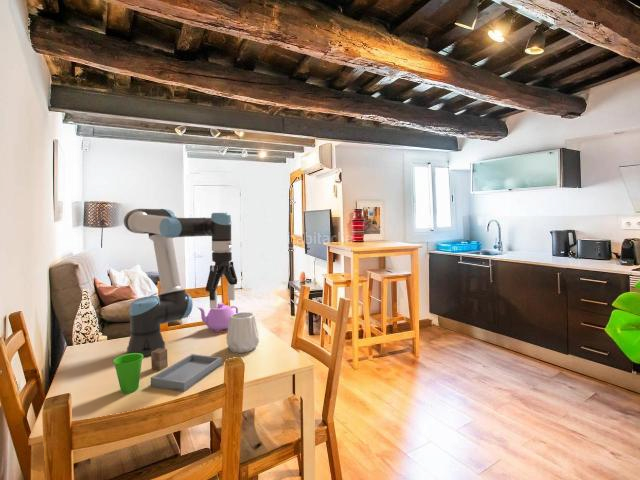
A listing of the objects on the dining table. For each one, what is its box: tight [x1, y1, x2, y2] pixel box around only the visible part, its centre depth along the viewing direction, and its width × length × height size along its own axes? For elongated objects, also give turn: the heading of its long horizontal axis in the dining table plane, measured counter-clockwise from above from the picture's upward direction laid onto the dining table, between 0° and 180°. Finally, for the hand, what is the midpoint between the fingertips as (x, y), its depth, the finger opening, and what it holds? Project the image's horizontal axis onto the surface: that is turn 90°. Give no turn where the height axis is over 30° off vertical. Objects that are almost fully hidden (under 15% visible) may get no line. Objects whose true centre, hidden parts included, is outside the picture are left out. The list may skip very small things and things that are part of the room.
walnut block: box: [150, 348, 169, 372], centre depth 133 cm, size 4×4×7 cm
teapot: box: [197, 302, 239, 334], centre depth 180 cm, size 22×16×14 cm
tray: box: [150, 353, 223, 392], centre depth 126 cm, size 14×22×3 cm, turn 163°
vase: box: [226, 312, 260, 354], centre depth 152 cm, size 14×14×15 cm
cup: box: [112, 353, 144, 394], centre depth 115 cm, size 9×9×11 cm
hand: (222, 304), depth 137 cm, fingers open, 13 cm apart
